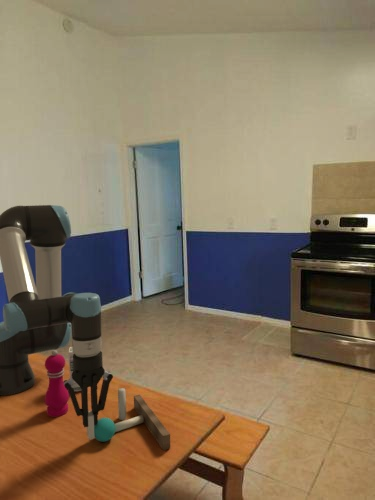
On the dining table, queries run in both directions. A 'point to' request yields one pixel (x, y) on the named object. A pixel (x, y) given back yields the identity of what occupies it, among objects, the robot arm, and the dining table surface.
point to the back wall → (152, 422)
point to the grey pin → (122, 403)
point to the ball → (104, 429)
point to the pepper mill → (56, 386)
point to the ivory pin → (129, 423)
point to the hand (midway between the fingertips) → (90, 436)
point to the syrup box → (70, 354)
